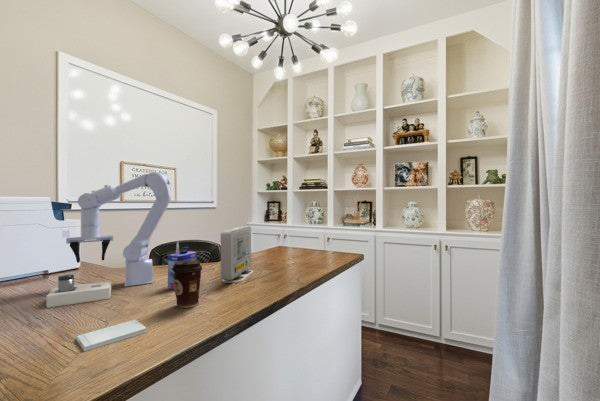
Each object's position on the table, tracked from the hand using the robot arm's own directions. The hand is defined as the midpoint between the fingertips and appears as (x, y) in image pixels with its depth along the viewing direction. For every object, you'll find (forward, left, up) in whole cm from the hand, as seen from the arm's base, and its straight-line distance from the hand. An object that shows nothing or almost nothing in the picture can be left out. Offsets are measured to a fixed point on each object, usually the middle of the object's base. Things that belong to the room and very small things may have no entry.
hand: (90, 261), depth 113 cm
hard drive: (-9, +55, -10) cm, 57 cm away
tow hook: (-35, -20, -10) cm, 42 cm away
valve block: (+1, +17, -9) cm, 19 cm away
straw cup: (-30, +19, -10) cm, 37 cm away
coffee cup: (-28, +42, -10) cm, 51 cm away
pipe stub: (+5, +17, -9) cm, 20 cm away
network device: (-52, +17, -10) cm, 56 cm away
